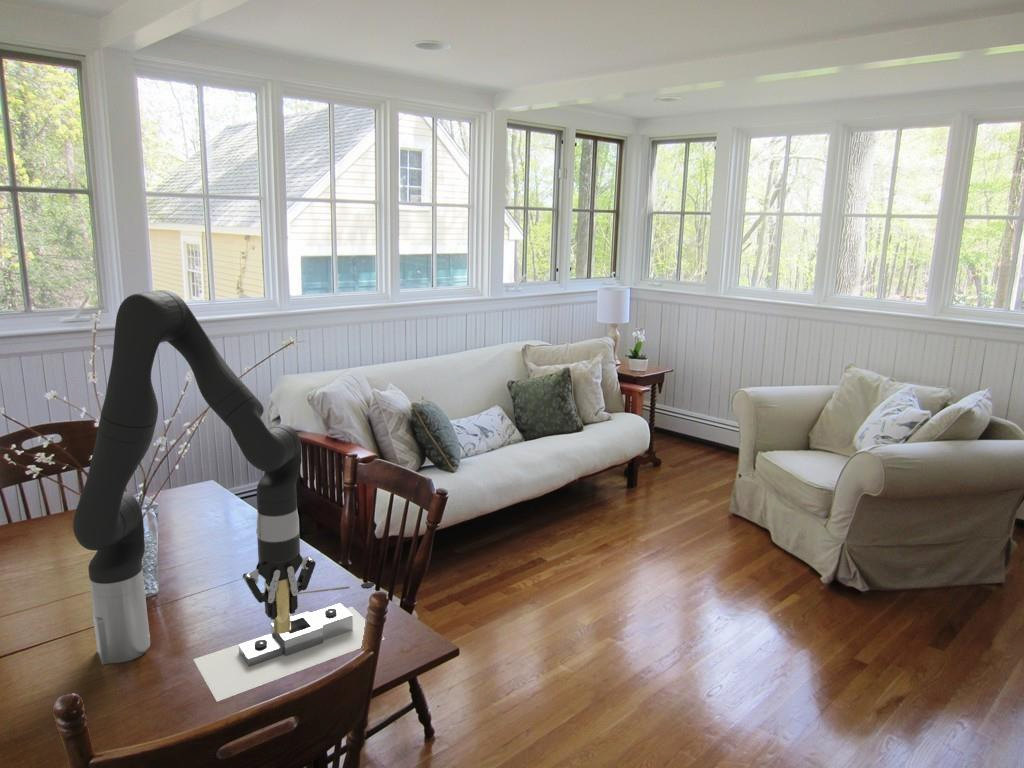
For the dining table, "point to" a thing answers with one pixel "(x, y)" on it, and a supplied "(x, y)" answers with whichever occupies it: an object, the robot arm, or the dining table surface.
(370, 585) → the tactical pry hammer
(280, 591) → the brass pin
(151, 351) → the robot arm
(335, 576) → the dining table surface
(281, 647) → the slotted stepped fixture
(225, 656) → the mat
